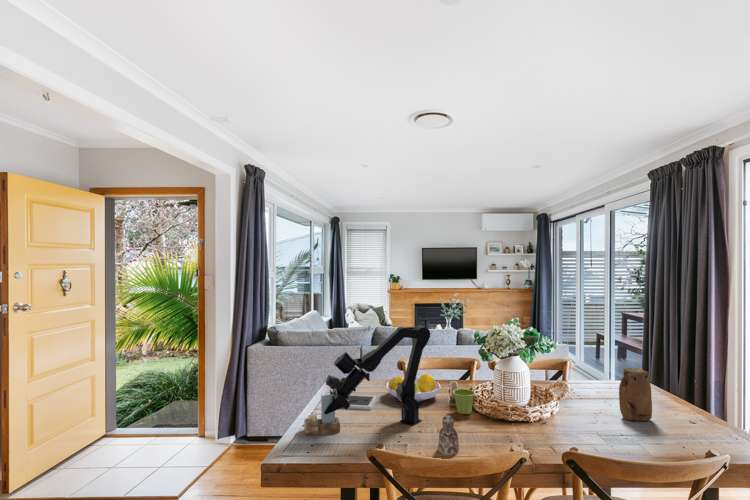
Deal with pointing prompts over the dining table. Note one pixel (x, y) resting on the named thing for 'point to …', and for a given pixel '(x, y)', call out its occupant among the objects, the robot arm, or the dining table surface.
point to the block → (635, 395)
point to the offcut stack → (311, 424)
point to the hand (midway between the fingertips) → (324, 412)
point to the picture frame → (361, 402)
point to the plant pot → (464, 400)
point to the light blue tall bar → (325, 403)
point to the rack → (326, 428)
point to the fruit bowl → (417, 387)
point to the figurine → (448, 437)
